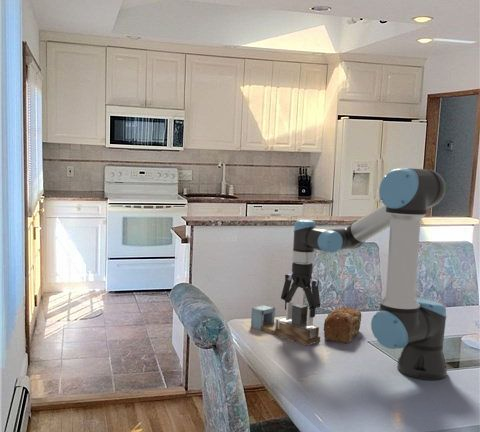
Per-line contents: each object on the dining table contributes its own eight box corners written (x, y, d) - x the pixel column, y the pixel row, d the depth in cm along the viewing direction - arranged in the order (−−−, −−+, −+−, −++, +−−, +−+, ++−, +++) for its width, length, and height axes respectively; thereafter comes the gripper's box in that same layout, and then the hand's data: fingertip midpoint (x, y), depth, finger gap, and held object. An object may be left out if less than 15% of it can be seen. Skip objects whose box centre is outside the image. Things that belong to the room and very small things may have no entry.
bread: (349, 345, 203) (351, 318, 202) (321, 339, 207) (323, 313, 206) (361, 331, 220) (363, 306, 219) (334, 326, 224) (336, 302, 223)
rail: (320, 340, 206) (320, 327, 205) (306, 345, 200) (307, 331, 199) (264, 323, 224) (265, 310, 223) (250, 326, 218) (251, 314, 218)
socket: (274, 326, 221) (275, 307, 220) (260, 330, 215) (261, 310, 214) (264, 323, 224) (265, 304, 223) (250, 326, 218) (251, 308, 217)
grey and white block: (316, 337, 204) (317, 308, 203) (309, 339, 201) (311, 310, 200) (281, 326, 215) (283, 299, 214) (275, 328, 212) (276, 300, 211)
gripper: (333, 266, 200) (329, 327, 202) (285, 256, 215) (282, 313, 217) (321, 268, 194) (317, 331, 197) (273, 258, 209) (269, 317, 212)
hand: (299, 322), depth 207 cm, fingers open, 9 cm apart
